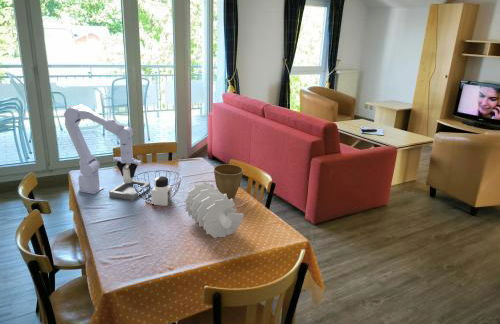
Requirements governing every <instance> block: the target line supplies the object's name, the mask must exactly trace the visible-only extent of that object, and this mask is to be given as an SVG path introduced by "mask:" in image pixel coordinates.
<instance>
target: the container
mask: <svg viewBox="0 0 500 324" xmlns="http://www.w3.org/2000/svg"><path fill="white" fill-rule="evenodd" d="M153 183H154V187H153V188H152V189H150V190H151V191H150V195H151V196H150V197H151V205H152V204H154V205H153V206H163V207H168V205H169V203H170V202H171V200H172V186H171V185H169V178H168V177H166V176H163V175H162V176H157V177H155V178H154V181H153Z"/></svg>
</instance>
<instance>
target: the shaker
mask: <svg viewBox="0 0 500 324" xmlns="http://www.w3.org/2000/svg"><path fill="white" fill-rule="evenodd" d="M129 165H130V164H128V165H127V164H126V165H125V166H123V176H122V177H123V182H124V183H131V182H133V180H134V179H133V178H134V177H133V178H131V177H130V169H129V167H128V166H129Z"/></svg>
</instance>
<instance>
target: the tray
mask: <svg viewBox="0 0 500 324" xmlns="http://www.w3.org/2000/svg"><path fill="white" fill-rule="evenodd" d="M150 183H151V182H146V181H140V180H134V179H133V182H131V183H124V181H123V182H122V183H119V185H117V186H115V187H114V188H112V189H111V190H109V192H108V194H109V198H114V199H119V200H123V201H128V202H129V201H130V202H134V201H135V200H136V199H138V198H139V197H140V196H138V194H137V192H136V191H135V189H134V187H133V184H138V185H140V186H142V187H150V188H151V184H150ZM141 191H142V189H141V188H139V192H141Z"/></svg>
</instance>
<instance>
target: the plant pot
mask: <svg viewBox="0 0 500 324" xmlns="http://www.w3.org/2000/svg"><path fill="white" fill-rule="evenodd" d="M213 173H214V181H215V186H216V188H218V190H219V191H220V192H221V193H222V194H227V197H228V199H229V200H230V199H233V200H234V199H235V197H236V195H237V192H238V191H239V187H240V184H241V182H242V177H243V173H244V168H243V167H241V166H239V165H237V164H231V163H230V164H227V163H224V164H219V165H218V164H217V165H216V166H214V167H213Z"/></svg>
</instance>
